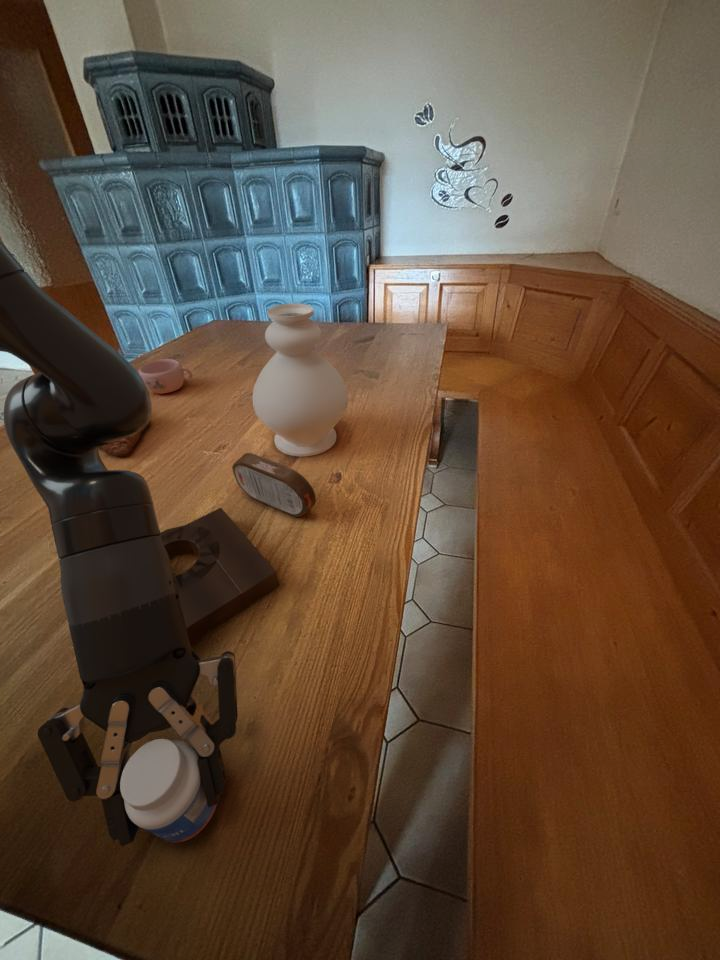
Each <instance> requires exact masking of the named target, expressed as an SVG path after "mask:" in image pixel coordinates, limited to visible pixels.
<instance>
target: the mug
mask: <svg viewBox="0 0 720 960" xmlns="http://www.w3.org/2000/svg"><path fill="white" fill-rule="evenodd" d="M137 372H138V373H139V375H140V376H141V378H142V379H143V381H144V383H145V385H146V387H147V389H148V391H149V392H151V393H154V394H168V393H172V392H175V391H178V390H179V389H181V388H182V386H183V385H184V382H185V381H187V382H188V381H191V380H192V379H193V373H192V371H191V369H189V368H188V367H183V366H182V364H181V362H180V361H178V360H176V359H173V358H172V359H171V358H161V359H155V360H151V361H148V362H145V363H143V364H142V365H141V366H139V368H138V371H137ZM185 372H187V373H188V377H186V376H185Z"/></svg>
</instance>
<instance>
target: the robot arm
mask: <svg viewBox="0 0 720 960" xmlns="http://www.w3.org/2000/svg"><path fill="white" fill-rule="evenodd" d="M0 352H4V353H8V354H11V355H13V356H14V357H16V358H17V359H19V360H21V361H22V362H23V363H25V364H27V365H28V366H30V367H32V368H33V369H34V370H36V371H37V372H36V373H34V374H32V375H29V376H27V377H25V378H23V379H21V380H18V382H16V384H14V385H13V386H12V387H11V388H10V390H9V391H8V393H7V394H6V397H5V401H4V405H3V406H4V407H3V412H2V413H3V416H2V418H3V426H4V430H5V433H6V436H7V438H8V440H9V442H10V444H11V446H12V449H13V450H14V452H15V454H16V456H17V458H18V460H19V461H20V463H21V465H22V467H23V468H24V470H25V472H26V474H27V476H28V477H29V479H30V481H31V483H32V485H33V486H34V488H35V490H36V491H37V492H38V495H40V497H41V498H42V501H43V502H44V504H45V505H46V507H47V509H48V513H49V521H50V525H51V530H52V535H53V539H54V544H55V548H56V553H57V557H58V559H59V561H58V563H59V570H60V588H61V595H62V601H63V605H64V610H65V614H66V619H67V623H68V629H69V633H70V638H71V642H72V646H73V651H74V655H75V660H76V665H77V670H78V674H79V678H80V681H81V683H82V685H83V692H82V696H81V700H80V702H79V703H77V704H75V705H73V706H71V707H63V708H60V709H59V710H58V711H56V712H55V713H54V714H53V715H52V716H51V717H50V718H49V719H48V720H46V721H45V722H44V723H43V724H42V725H41V726H40V727H39V728H38V730H37V737H38V739H39V741H40V743H41V746H42V748H43V750H44V752H45V754H46V757H47V758H48V760H49V763H50V765H51V767H52V770H53V771H54V774H55V775H56V778H57V780H58V782H59V784H60V786H61V789H62V790H63V793H64V795H65V797H66V799H67V800H68V801H70V802H78V801H80V800H81V799H82V798H83V797H93V796H94V797H97V798H99V800H100V801H101V804H102V808H103V813H104V818H105V821H106V827H107V833H108V836H109V837H110V838H111V840H112V841H117V840H118V842H119V845H120V847H125V846H127V845H129V844H131V843H133V842H134V841H135V838H136V836H137V834H138V831H139V828H140V827H139V826H137V825H136V824H135V823H133V822H132V821H131V820H130V818H129V816H128V814H127V812H126V810H125V805H124V799H123V797H122V794H121V791H120V781H121V776H122V772H123V770H124V767H125V765H126V763H127V762H128V760H129V759H130V752H131V747H132V744H133V743H134V742H137V741H139V740H141V739H143V738H144V737H146V736H147V735H148V734H150V733H154V732H155V733H156V732H161V731H162V732H163V731H165V730H168V729H170V728H173V730H175V732H176V733H177V734H178V735H179V737H181V739H186V740H187V742H188V743H189V744H190V745H191V746H192V747H193V748H194V749H195V750H196V751H197V752H198V753H199V758H198V761H197V762H198V767H199V771H200V775H201V779H202V784H203V788H204V792H205V797H206V801H207V805H208V807H211V806H214V805H216V804H217V805H218V804H219V802H220V797H221V794H223V793H224V790H225V783H226V777H227V773H226V768H225V764H224V759H223V755H222V752H221V747H220V746H221V744H222V743H223V742H224V741H225V740H229V739H232V738H233V737H234V736H235V735H236V732H237V722H238V715H239V713H238V693H237V690H238V689H237V671H236V669H237V668H236V655H235V654H234V652H233V651H230V650H228V651H225V652H223V653H222V654H221V655H220V656H213V657H208V658H204V659H203V658H202V659H201V658H200V656H199V655H198V654H197V653H195V651H194V649H193V648H192V646H191V644H190V641H189V637H188V633H187V629H186V625H185V620H184V616H183V612H182V608H181V603H180V599H179V595H178V591H177V587H176V586H177V581H176V577H175V576H176V573H175V572H174V571H173V567H172V563H171V559H169V556H168V554H167V551H166V549H165V547H164V544H163V541H162V538H161V536H159V535H160V533H161V531H160V525H159V522H158V518H157V514H156V513H157V512H156V509H155V505H154V500H153V496H152V493H151V490H150V487H149V484H148V483H147V480H146V479H145V477H143V476H142V475H141V474H140V473H137V472H134V471H131V470H125V469H124V470H123V469H113V470H112V469H110V470H108V468H107V467H106V465H105V463H104V461H103V460H102V458H101V456H100V453H99V449H101V448H100V447H102V446H105V445H107V444H110V443H113V442H116V441H119V440H121V439H124V438H127V437H129V436H132V435H134V434H136V433H137V432H139V431H141V430H142V429H143V428H144V427H145V426H146V425H147V423H148V422H149V423H150V421H151V417H152V413H153V412H152V409H153V408H152V406H153V405H152V399H151V395H150V391H149V390H148V389H147V387H146V385H145V383H144V381H143V379H142V378H141V376H140V375H139V372H138V371H137V369H136V368H135V367H134V366H133V365H132V364H131V363H130V361H129V360H127V359H126V358H125V357H124V356H123V355H122V354H120V352H118V351H117V350H116V349H115V348H114V347H112V346H111V345H110V344H108V342H106V341H105V340H103V339H102V338H101V337H100V336H99V335H97V334H96V333H95V332H93V331H92V330H91V329H90V328H89V327H87V326H86V325H85V324H84V323H82V321H80V320H79V319H78V318H77V317H76V316H75V315H73V314H72V313H70V311H68V310H67V309H66V308H64V307H63V306H62V305H60V303H58V302H57V301H56V300H54V299H53V298H52V297H51V296H50V295H48V294H47V293H46V292H45V291H44V290H43V289H41V287H40V286H38V284H37V283H36V281H35V280H34V279H33V277H32V276H31V275H30V274H29V272H27V271H26V270H25V268H24V266H22V264H21V263H20V262H19V261H18V259H17V258H16V257H15V256H14V255H13V254H12V252H11V251H10V250H9V248H7V246H6V245H5V244H4V243H3V242H2V240H0ZM200 675H202V676H205V677H206V678H207V681H208V684H209V685H210V686H211V687H214V688H217V697H218V719H217V720H216V721H215V722H212V720H211V719H210V718H209V716H208V715H207V714H206V713H205V710H204V708H203V706H202V704H201V703H200V701H198V699H197V698H196V697H195V695H194V694H193V693H194V689H195V687H196V685H197V683H198V679H199V677H200ZM85 718H86V719H87V720H89V721H90V722H91V723H93V724H95V725H96V726H97V727H99V728H101V729H102V730H103V731H104V732H106V734H105V739H104V744H103V747H102V753H101V757H100V766H99V765H98V763H97V761H96V759H95V757H94V755H93V752H92V750H91V747H90V746H89V743H88V742H87V739H86V737H85V735H84V733H83V732H84V730H85V728H86V721H85ZM217 805H216V806H217Z"/></svg>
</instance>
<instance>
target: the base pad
mask: <svg viewBox="0 0 720 960" xmlns="http://www.w3.org/2000/svg"><path fill="white" fill-rule="evenodd" d="M159 536H161V538H162V541H163V544H164V547H165V549H166V551H167V554H168V556H169V559H170V560H172V559H174V558H176V557H178V556H183V555H196V556H197V558H196V560H195V562H194V563H193V564H191V566H190V567H189V568H188V569H186V570H185V571H183V572H180V573H179V574H177V575H176V574H175V577H176V581H177V586H176V587H177V591H178V595H179V599H180V603H181V608H182V612H183V616H184V620H185V625H186V629H187V633H188V637H189V641H190V645H191V644H193V643H194V642H196V641H197V640H199V639H200V638H202V637H203V636H205V635H206V634H208V633H209V632H211V631H212V630H214V629H216V628H217V627H219V626H220V625H222V624H224V622H227V620H228V621H229V620H230V619H231V618H233V617H234V616H236V615H237V614H239V613H240V612H241V611H243V610H244V609H246V608H247V607H249V606H251V605H252V604H254V603H256V602H257V601H258V600H259V599H261V598H263V597H264V596H266V595H267V594H269V593H270V592H272V591H273V590H275V589H276V588H278V587H280V581H279V577H278V572H277V570H276V569H275V568H274V567H273V566H272V565H271V563H270V562H269V561H268V560H267V559H266V558H265V557H264V556H263V554H262V553H261V552H260V550H258V548H256V546H255V544H253V543H252V542H251V540H250V539H249V538H248V537H247V536H246V535H245V534H244V532H243V531H242V530H241V529H240V528H239V527H238V525H237V524H236V523H235V522H234V520H232V519H231V517H230V516H229V515H228V514H227V513H226V511H225V510H224V509H223V508H222V507H219V508H217V509H214V510H213V511H211V512H209V513H207V514H205V515H203V516H200V517H199V518H196V519H194V520H192V521H190V522H188V523H186V524H184V525H180V526H176V527H171V528H167V529H165V530H163V531H160V535H159Z"/></svg>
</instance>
